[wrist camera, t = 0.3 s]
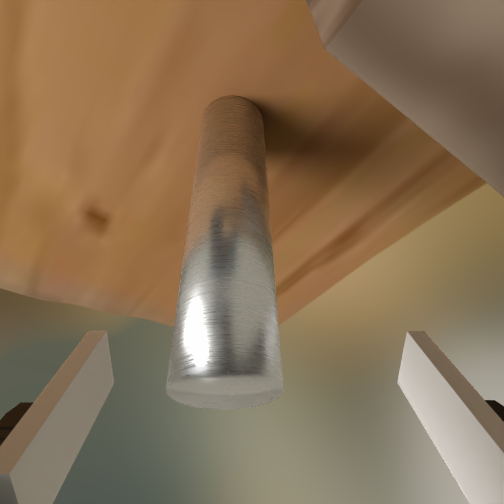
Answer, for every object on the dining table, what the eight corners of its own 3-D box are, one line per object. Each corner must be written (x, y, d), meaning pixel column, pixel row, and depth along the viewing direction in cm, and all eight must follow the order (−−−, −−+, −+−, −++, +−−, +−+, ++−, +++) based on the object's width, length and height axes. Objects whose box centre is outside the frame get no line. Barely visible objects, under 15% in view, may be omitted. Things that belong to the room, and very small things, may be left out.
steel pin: (198, 95, 21) (155, 371, 10) (264, 95, 21) (288, 369, 11) (204, 152, 24) (175, 410, 14) (262, 151, 25) (279, 408, 14)
